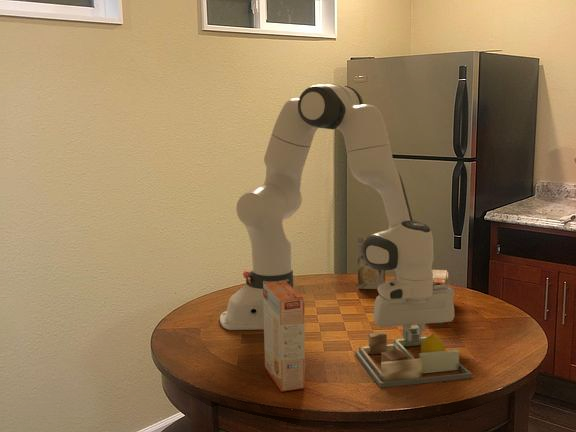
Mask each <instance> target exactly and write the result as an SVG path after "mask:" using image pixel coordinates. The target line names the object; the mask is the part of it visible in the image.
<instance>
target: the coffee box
mask: <svg viewBox="0 0 576 432" xmlns="http://www.w3.org/2000/svg"><path fill="white" fill-rule="evenodd" d="M366 238H367V237H366ZM366 238H363V237H362V238H361V237H358V238H357V243H356V245H357V251H356V252H357V289H359V290H378V286H379V285H380V284H383V283H385V282H386V270H374V269H372V268H371V267H369V266H368V265H367V263H366V262H365V260H364V258H363V254H362V246H363V243H364V241H365V239H366Z"/></svg>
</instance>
